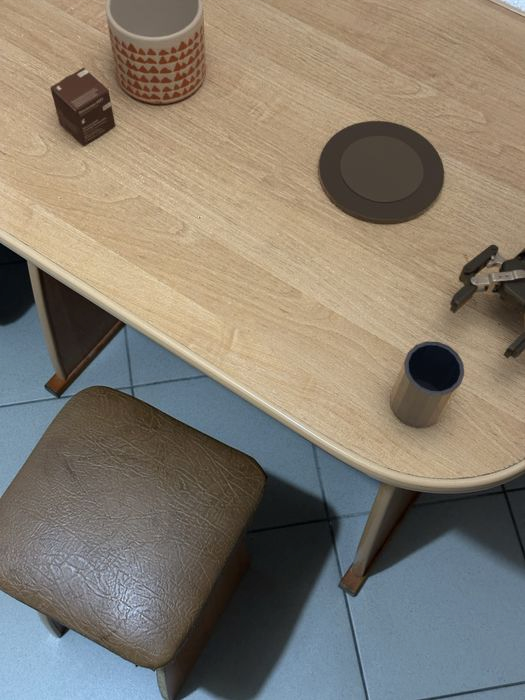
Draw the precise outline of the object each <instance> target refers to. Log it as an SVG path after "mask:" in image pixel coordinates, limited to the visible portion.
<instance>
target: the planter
mask: <svg viewBox="0 0 525 700" xmlns="http://www.w3.org/2000/svg"><path fill="white" fill-rule="evenodd" d="M104 8H105V9H104V10H105V16H106V23H107V28H108V34H109V35H108V36H109V41H110V47H111V52H112V53H111V54H112V59H113V64H114V70H115V76H116V80H117V82H118V84H119V86H120V87H121V89H122V90H123V91H124V92H125V93H126V94H127V95H129V96H130V97H132V98H134V99H135V100H137V101H140V102H143V103H146V104H150V105H170V104H173V103H178V102H181V101H183V100H185V99H187V98H189V97H190V96H192V95H193V94H194V93H196V92H197V90H198V89H199V88H200V87H201V86H202V84H203V83H204V80H205V76H206V69H207V66H206V65H207V64H206V44H205V43H206V42H205V17H204V12H205V11H204V1H203V0H105V4H104Z"/></svg>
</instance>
